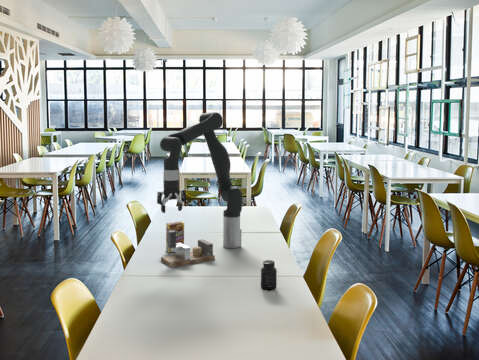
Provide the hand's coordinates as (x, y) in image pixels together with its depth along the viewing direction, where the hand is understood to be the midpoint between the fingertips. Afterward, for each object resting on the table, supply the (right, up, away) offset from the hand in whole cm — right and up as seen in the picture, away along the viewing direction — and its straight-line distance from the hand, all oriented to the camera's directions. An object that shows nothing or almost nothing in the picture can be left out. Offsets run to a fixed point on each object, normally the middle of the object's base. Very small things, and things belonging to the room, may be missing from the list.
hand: (171, 211), depth 250 cm
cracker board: (+7, -25, +9) cm, 28 cm away
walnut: (+11, -23, +12) cm, 28 cm away
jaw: (+2, -23, +6) cm, 24 cm away
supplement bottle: (+45, -32, -28) cm, 62 cm away
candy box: (-1, -23, +25) cm, 34 cm away
